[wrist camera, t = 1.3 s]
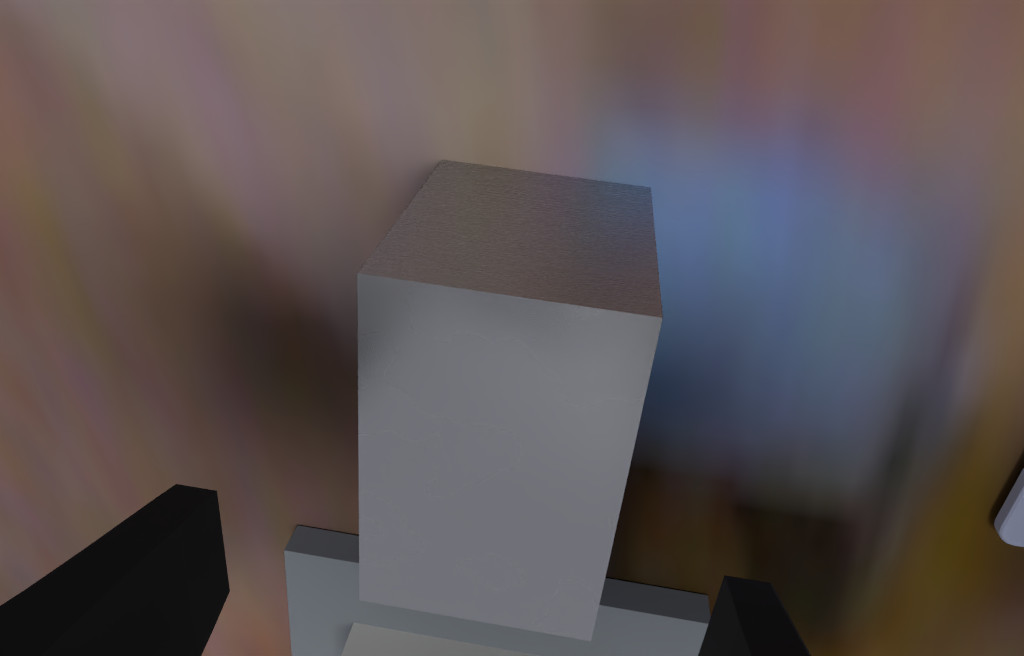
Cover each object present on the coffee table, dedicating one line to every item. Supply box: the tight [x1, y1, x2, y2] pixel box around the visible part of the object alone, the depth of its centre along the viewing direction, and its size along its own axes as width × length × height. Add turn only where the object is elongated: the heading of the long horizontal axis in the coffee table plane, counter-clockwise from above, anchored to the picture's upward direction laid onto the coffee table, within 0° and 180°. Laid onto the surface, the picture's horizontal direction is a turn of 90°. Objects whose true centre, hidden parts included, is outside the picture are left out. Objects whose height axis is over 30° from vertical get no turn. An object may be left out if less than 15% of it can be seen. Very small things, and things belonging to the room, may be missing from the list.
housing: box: [357, 160, 663, 641], centre depth 15 cm, size 4×7×6 cm, turn 174°
